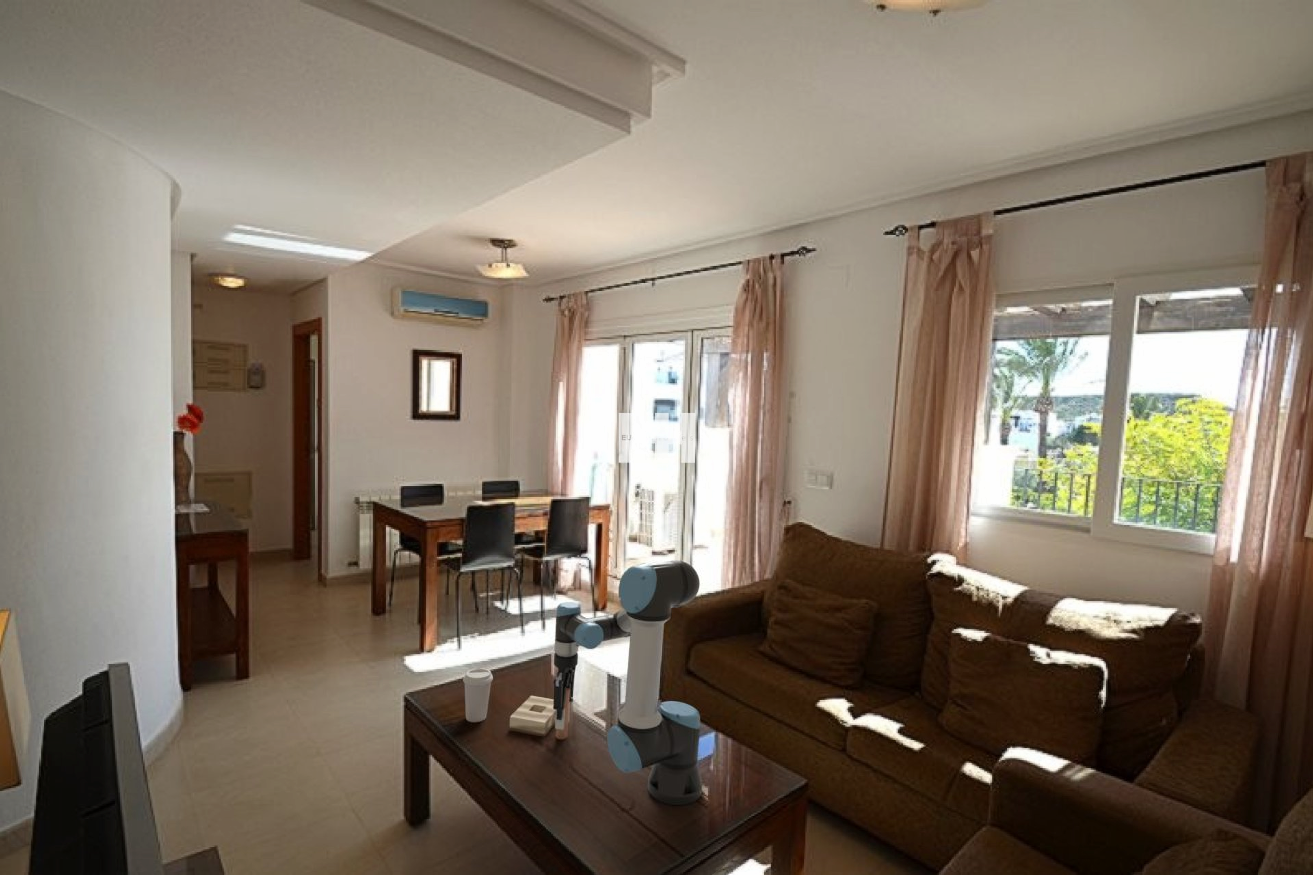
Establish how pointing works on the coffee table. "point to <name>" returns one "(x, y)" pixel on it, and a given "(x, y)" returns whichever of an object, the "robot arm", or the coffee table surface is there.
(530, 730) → the bore block
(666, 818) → the coffee table surface
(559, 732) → the pin
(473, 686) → the coffee cup
